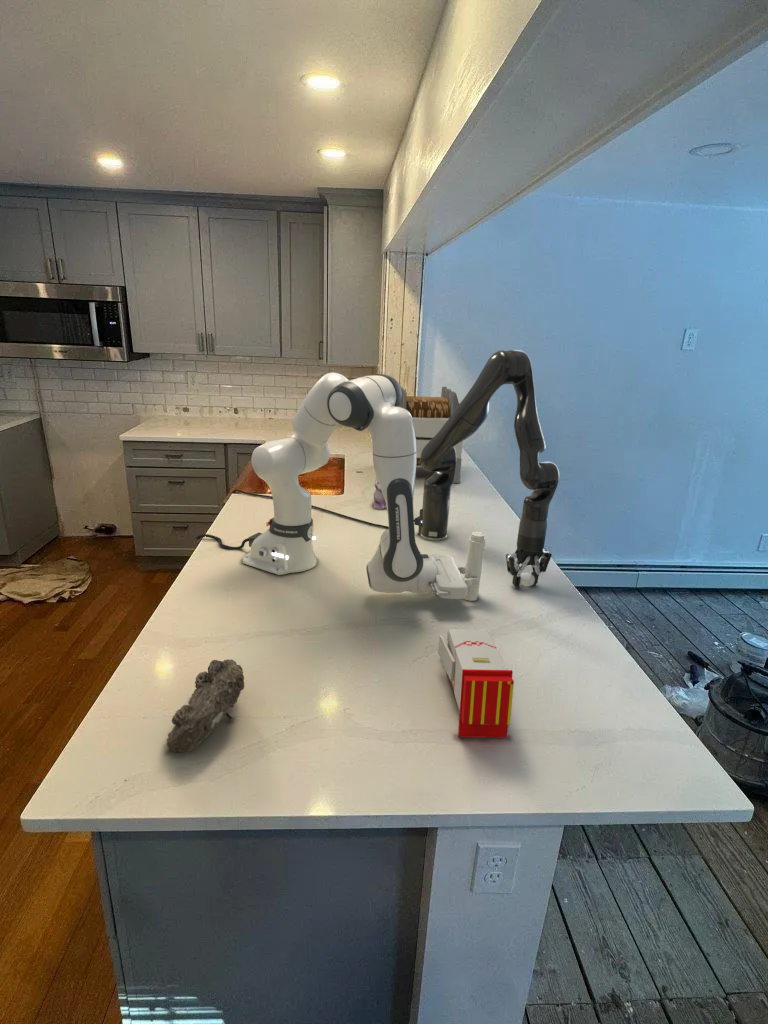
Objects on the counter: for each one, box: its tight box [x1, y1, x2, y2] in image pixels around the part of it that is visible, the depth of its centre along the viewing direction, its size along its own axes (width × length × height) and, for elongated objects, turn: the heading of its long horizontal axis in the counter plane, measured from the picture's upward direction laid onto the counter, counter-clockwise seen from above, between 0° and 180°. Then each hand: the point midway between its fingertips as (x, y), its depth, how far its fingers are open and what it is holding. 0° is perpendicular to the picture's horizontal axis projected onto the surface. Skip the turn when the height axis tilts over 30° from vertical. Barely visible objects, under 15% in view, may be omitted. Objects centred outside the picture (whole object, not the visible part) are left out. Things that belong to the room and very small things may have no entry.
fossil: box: [166, 658, 245, 754], centre depth 106 cm, size 22×10×15 cm
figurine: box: [372, 478, 387, 510], centre depth 225 cm, size 9×10×15 cm
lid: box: [520, 572, 535, 587], centre depth 165 cm, size 5×5×2 cm
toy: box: [437, 628, 515, 738], centre depth 117 cm, size 12×13×30 cm
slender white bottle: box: [463, 531, 486, 602], centre depth 155 cm, size 4×4×19 cm
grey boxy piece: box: [398, 384, 464, 484], centre depth 268 cm, size 34×33×41 cm
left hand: (475, 575), depth 156 cm, fingers closed on slender white bottle, 4 cm apart
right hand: (524, 585), depth 165 cm, fingers closed on lid, 5 cm apart
